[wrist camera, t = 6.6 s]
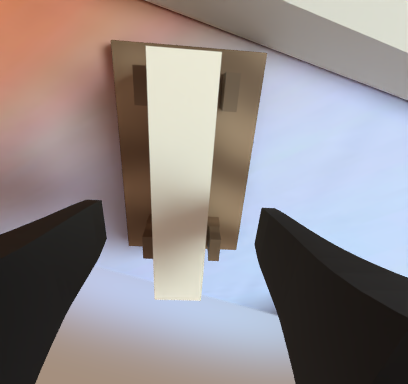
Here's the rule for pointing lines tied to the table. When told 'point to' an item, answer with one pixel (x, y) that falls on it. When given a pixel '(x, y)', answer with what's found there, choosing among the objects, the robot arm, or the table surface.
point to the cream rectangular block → (180, 164)
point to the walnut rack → (223, 143)
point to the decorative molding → (319, 33)
